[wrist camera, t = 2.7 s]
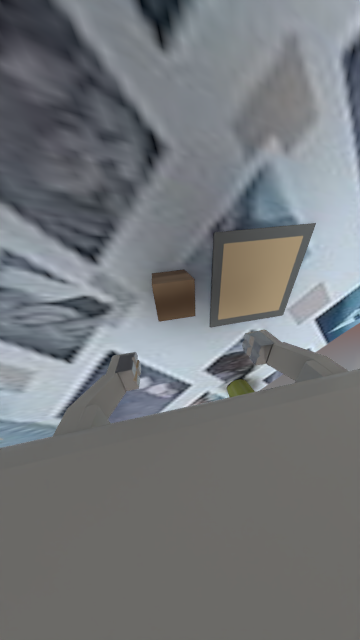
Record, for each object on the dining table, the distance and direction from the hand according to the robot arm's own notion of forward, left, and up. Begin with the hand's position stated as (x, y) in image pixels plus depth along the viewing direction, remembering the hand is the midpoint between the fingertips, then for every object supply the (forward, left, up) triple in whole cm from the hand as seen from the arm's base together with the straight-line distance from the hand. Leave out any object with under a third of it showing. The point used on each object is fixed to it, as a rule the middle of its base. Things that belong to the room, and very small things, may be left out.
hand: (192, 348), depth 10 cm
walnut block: (0, 0, -14) cm, 14 cm away
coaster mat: (+1, +15, -14) cm, 21 cm away
